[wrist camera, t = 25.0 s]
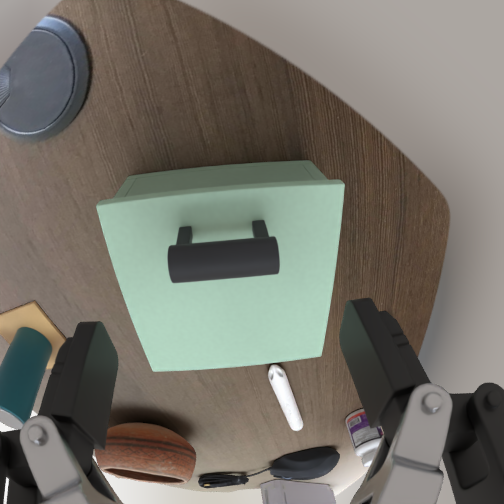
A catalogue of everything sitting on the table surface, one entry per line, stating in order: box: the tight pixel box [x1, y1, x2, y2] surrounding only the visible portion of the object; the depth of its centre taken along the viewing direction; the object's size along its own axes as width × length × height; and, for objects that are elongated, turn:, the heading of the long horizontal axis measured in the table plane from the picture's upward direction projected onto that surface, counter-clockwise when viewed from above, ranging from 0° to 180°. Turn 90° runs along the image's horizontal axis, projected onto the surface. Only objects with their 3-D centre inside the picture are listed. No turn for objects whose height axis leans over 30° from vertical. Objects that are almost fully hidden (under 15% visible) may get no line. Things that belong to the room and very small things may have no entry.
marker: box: [268, 365, 303, 431], centre depth 39 cm, size 18×2×2 cm, turn 15°
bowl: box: [95, 423, 196, 484], centre depth 39 cm, size 16×16×10 cm
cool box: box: [113, 160, 328, 198], centre depth 24 cm, size 14×14×6 cm
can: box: [0, 327, 52, 430], centre depth 26 cm, size 5×5×11 cm
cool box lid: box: [96, 180, 345, 371], centre depth 19 cm, size 15×14×5 cm
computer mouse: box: [198, 447, 340, 488], centre depth 55 cm, size 10×32×6 cm, turn 114°
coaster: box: [0, 301, 67, 369], centre depth 31 cm, size 10×10×1 cm
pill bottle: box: [345, 409, 383, 467], centre depth 44 cm, size 5×5×10 cm
